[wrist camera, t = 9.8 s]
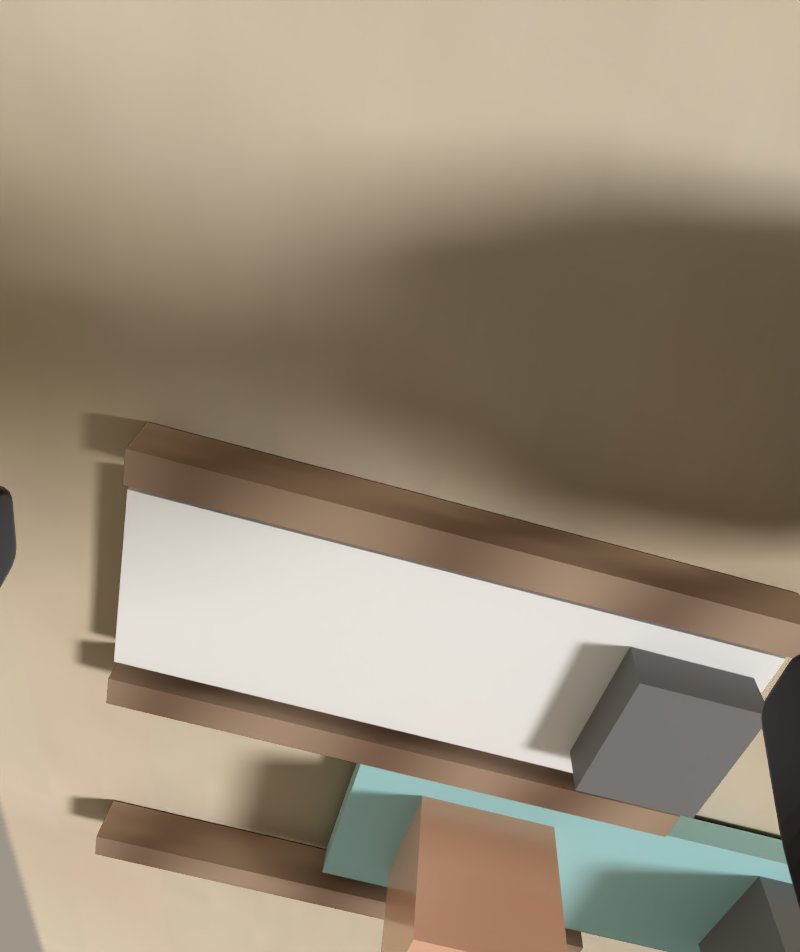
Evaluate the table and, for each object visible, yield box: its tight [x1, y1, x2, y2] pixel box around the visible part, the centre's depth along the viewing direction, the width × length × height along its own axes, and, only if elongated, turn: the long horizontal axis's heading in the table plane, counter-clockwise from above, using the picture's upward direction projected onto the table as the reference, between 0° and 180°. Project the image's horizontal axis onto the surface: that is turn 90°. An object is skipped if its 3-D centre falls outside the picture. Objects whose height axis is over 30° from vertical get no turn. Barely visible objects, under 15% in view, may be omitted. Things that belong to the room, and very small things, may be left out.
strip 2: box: [322, 763, 800, 952], centre depth 27 cm, size 20×7×7 cm, turn 75°
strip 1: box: [114, 487, 786, 818], centre depth 23 cm, size 20×7×2 cm, turn 75°
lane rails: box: [95, 422, 800, 952], centre depth 26 cm, size 20×19×2 cm
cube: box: [381, 796, 567, 952], centre depth 26 cm, size 5×5×5 cm
